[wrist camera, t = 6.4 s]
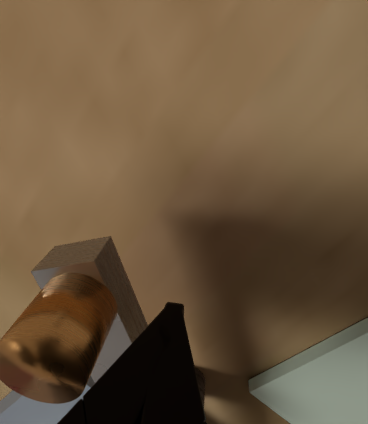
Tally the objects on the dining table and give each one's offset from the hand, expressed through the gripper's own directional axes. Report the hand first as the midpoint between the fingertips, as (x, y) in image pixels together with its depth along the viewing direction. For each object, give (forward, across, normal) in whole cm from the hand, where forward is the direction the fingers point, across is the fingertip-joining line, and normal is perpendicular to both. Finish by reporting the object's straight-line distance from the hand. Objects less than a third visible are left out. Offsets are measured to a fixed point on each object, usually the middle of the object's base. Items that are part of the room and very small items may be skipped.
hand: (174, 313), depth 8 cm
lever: (+3, +1, +5) cm, 6 cm away
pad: (+4, -8, +7) cm, 11 cm away
